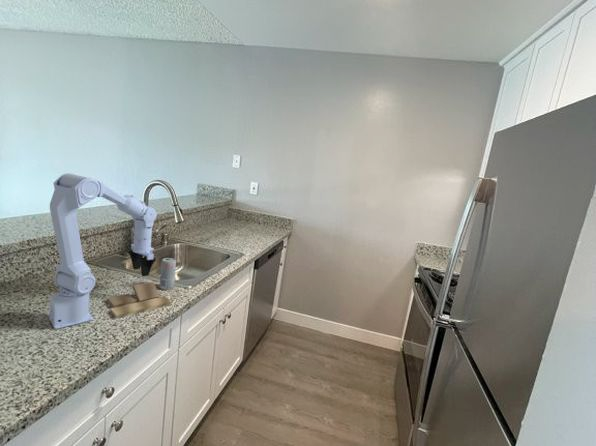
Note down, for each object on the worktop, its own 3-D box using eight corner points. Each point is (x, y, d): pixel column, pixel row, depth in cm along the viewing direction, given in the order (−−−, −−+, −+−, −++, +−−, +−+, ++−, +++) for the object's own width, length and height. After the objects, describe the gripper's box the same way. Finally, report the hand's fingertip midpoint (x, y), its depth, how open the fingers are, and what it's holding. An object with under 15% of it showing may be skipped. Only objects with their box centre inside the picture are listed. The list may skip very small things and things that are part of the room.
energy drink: (170, 284, 126) (172, 257, 124) (176, 288, 122) (178, 260, 120) (157, 286, 121) (159, 258, 119) (163, 291, 118) (165, 262, 116)
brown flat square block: (113, 308, 100) (114, 305, 100) (106, 301, 105) (106, 297, 104) (136, 303, 106) (136, 300, 105) (128, 296, 110) (128, 293, 110)
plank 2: (139, 302, 106) (139, 300, 106) (132, 287, 109) (133, 285, 109) (158, 298, 112) (159, 296, 111) (152, 283, 115) (152, 281, 114)
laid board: (116, 318, 95) (116, 315, 95) (109, 310, 99) (109, 307, 99) (170, 304, 109) (171, 301, 109) (163, 298, 113) (163, 295, 112)
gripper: (162, 241, 108) (160, 276, 111) (145, 232, 117) (143, 264, 120) (142, 243, 103) (140, 280, 105) (126, 233, 112) (124, 267, 114)
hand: (140, 272), depth 112 cm, fingers open, 7 cm apart
